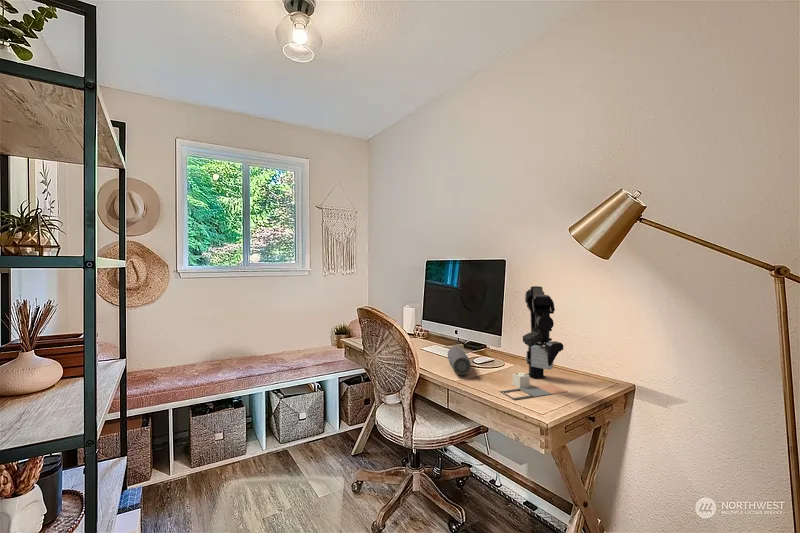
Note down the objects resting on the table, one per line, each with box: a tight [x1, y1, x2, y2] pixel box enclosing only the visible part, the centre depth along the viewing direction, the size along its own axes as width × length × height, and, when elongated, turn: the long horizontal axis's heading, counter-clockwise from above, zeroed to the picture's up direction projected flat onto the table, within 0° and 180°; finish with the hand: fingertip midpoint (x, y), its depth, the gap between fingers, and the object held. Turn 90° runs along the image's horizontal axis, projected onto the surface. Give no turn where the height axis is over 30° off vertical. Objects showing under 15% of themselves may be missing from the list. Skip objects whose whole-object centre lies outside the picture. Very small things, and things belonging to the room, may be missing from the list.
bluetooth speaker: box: [447, 346, 472, 376], centre depth 190 cm, size 23×9×10 cm, turn 0°
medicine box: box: [531, 345, 554, 371], centre depth 160 cm, size 8×4×9 cm, turn 47°
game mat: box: [499, 383, 569, 401], centre depth 159 cm, size 10×27×1 cm, turn 110°
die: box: [512, 372, 531, 389], centre depth 167 cm, size 5×5×5 cm
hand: (542, 362), depth 160 cm, fingers closed on medicine box, 9 cm apart
